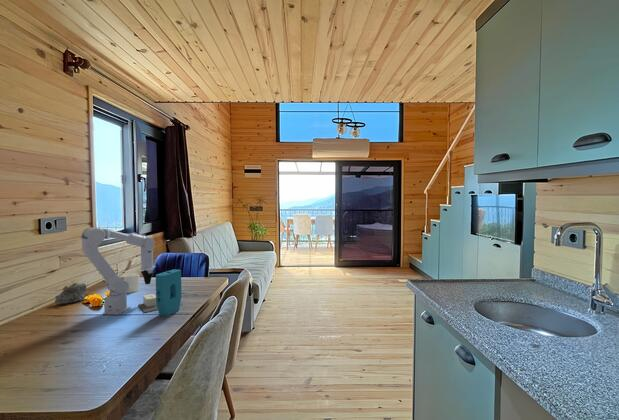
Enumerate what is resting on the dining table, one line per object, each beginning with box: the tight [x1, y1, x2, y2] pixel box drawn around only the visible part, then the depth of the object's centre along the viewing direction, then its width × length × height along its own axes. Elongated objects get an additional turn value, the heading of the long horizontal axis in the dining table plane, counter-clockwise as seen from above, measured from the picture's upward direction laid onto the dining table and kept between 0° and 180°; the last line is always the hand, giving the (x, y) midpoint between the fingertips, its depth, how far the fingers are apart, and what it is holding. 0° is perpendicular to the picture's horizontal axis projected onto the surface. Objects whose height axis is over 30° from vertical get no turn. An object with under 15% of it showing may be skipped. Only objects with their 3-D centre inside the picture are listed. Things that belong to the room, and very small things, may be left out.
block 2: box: [155, 268, 182, 317], centre depth 144 cm, size 12×5×20 cm, turn 160°
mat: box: [138, 303, 158, 314], centre depth 152 cm, size 14×10×1 cm
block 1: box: [142, 293, 157, 307], centre depth 155 cm, size 4×5×8 cm
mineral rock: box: [54, 282, 88, 305], centre depth 159 cm, size 13×11×10 cm
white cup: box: [124, 272, 140, 294], centre depth 178 cm, size 8×8×10 cm
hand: (147, 283), depth 159 cm, fingers closed
